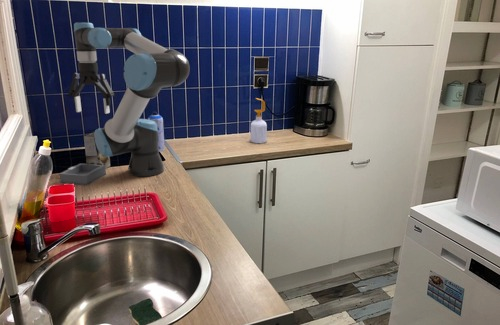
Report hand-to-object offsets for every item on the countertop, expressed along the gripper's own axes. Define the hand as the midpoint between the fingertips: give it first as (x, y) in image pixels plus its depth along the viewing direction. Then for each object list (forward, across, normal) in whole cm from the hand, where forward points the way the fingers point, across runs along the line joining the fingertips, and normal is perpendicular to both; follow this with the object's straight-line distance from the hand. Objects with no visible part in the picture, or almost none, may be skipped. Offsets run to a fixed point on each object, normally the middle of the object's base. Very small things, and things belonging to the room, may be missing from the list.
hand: (93, 112), depth 176 cm
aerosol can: (+26, -12, -35) cm, 45 cm away
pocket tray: (+26, -1, +13) cm, 29 cm away
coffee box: (+26, 0, 0) cm, 26 cm away
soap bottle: (+26, -60, -65) cm, 92 cm away
